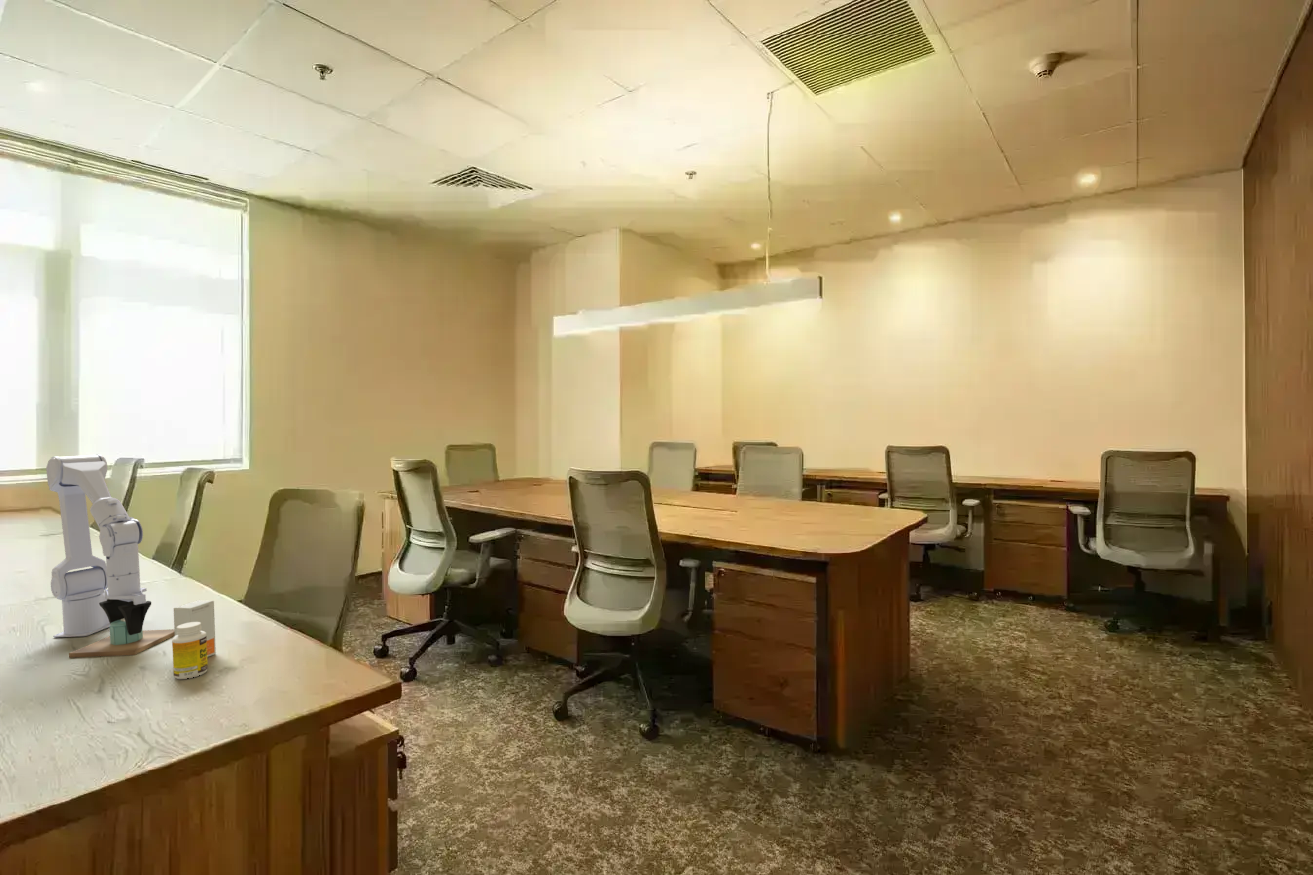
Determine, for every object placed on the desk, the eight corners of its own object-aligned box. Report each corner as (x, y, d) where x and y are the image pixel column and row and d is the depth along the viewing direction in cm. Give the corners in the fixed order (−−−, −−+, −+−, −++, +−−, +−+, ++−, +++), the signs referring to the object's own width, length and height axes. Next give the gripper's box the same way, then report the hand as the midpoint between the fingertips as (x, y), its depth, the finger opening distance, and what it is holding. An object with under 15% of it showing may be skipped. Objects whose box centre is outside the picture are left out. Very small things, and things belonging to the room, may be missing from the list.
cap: (106, 642, 143) (105, 621, 143) (135, 635, 148) (134, 614, 148) (118, 646, 141) (116, 624, 141) (146, 638, 146) (145, 617, 145)
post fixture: (120, 635, 151) (119, 619, 151) (180, 632, 152) (179, 616, 152) (69, 657, 137) (68, 639, 137) (134, 654, 138) (133, 636, 138)
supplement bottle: (205, 676, 125) (202, 626, 124) (170, 682, 122) (167, 631, 122) (210, 667, 130) (208, 618, 129) (177, 672, 127) (175, 623, 127)
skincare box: (191, 664, 131) (188, 608, 131) (175, 663, 132) (172, 607, 132) (217, 653, 137) (214, 600, 137) (201, 652, 138) (198, 599, 138)
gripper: (159, 572, 144) (163, 629, 145) (128, 566, 151) (132, 622, 151) (122, 579, 138) (126, 639, 138) (92, 573, 145) (95, 631, 145)
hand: (126, 631), depth 144 cm, fingers open, 7 cm apart
